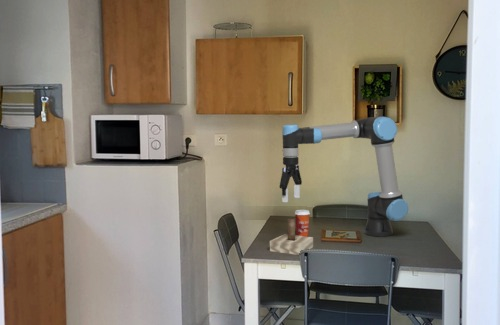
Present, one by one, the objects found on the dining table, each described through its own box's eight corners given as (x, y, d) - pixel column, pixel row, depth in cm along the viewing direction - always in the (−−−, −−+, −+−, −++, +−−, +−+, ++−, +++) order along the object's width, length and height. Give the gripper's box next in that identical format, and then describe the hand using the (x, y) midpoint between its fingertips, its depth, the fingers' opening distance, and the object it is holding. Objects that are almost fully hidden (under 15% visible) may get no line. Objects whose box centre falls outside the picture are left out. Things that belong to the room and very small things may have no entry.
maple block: (313, 247, 248) (313, 237, 248) (299, 255, 235) (299, 244, 234) (284, 243, 256) (284, 234, 256) (269, 251, 243) (269, 241, 242)
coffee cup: (300, 241, 261) (300, 212, 260) (291, 237, 268) (291, 210, 267) (313, 239, 265) (313, 211, 263) (304, 235, 272) (304, 208, 271)
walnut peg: (296, 248, 246) (295, 218, 245) (293, 250, 243) (292, 220, 242) (289, 247, 248) (289, 218, 246) (286, 249, 245) (286, 219, 243)
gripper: (294, 154, 254) (295, 195, 256) (271, 158, 233) (272, 203, 234) (308, 154, 250) (308, 196, 252) (286, 159, 229) (286, 204, 231)
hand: (291, 199), depth 243 cm, fingers open, 13 cm apart
